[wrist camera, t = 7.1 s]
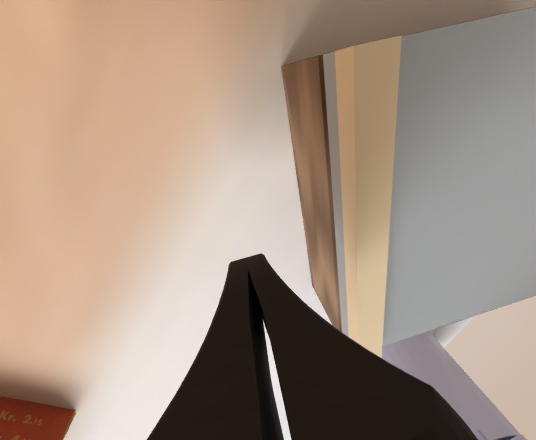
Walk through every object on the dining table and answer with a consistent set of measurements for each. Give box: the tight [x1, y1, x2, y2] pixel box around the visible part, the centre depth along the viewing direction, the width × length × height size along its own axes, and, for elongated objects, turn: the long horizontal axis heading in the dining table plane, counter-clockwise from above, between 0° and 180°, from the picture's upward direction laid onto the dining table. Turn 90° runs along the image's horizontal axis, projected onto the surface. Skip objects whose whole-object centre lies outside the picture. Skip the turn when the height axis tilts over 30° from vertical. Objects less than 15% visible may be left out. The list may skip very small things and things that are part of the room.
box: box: [281, 55, 342, 332], centre depth 13 cm, size 14×12×4 cm
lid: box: [323, 7, 536, 358], centre depth 10 cm, size 14×12×2 cm
